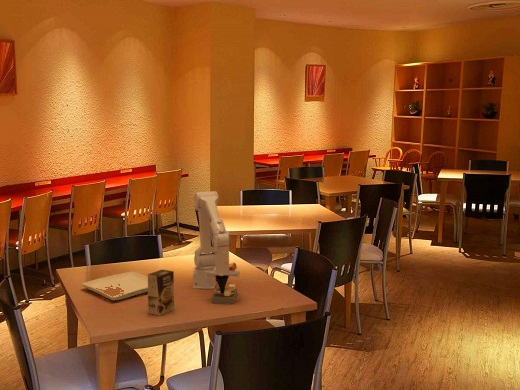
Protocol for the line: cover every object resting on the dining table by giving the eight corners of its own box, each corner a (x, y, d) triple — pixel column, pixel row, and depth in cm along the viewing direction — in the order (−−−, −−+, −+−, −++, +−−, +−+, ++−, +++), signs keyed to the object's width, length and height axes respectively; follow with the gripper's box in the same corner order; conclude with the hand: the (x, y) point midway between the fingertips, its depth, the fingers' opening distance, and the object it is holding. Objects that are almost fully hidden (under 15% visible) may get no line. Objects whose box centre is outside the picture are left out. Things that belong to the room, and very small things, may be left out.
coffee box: (160, 316, 233) (159, 276, 231) (147, 313, 237) (146, 274, 234) (175, 309, 241) (174, 271, 238) (163, 306, 244) (162, 268, 242)
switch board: (211, 303, 248) (211, 297, 248) (217, 293, 261) (217, 287, 261) (233, 303, 248) (233, 297, 247) (237, 293, 260) (237, 288, 260)
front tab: (224, 296, 249) (224, 291, 249) (225, 293, 252) (225, 289, 252) (229, 296, 249) (229, 291, 248) (230, 294, 252) (230, 289, 251)
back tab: (228, 290, 256) (228, 286, 255) (229, 288, 259) (229, 284, 258) (234, 291, 256) (234, 286, 255) (235, 288, 258) (235, 284, 258)
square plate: (80, 290, 266) (80, 282, 265) (132, 278, 285) (132, 270, 285) (112, 305, 247) (112, 296, 247) (166, 290, 266) (166, 282, 266)
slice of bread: (214, 278, 284) (214, 271, 284) (199, 269, 300) (199, 262, 299) (247, 273, 293) (247, 266, 292) (231, 265, 308) (231, 258, 308)
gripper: (203, 263, 245) (203, 295, 247) (238, 264, 244) (238, 296, 246) (206, 259, 252) (206, 289, 254) (240, 259, 251) (240, 290, 253)
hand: (222, 292), depth 250 cm, fingers closed
